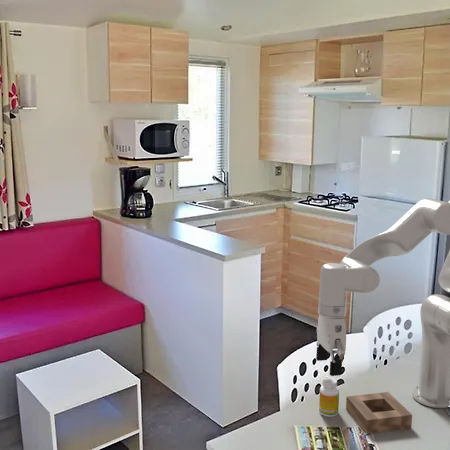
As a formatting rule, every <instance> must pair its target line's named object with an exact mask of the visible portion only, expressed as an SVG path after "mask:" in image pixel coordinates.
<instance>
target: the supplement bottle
mask: <svg viewBox="0 0 450 450" xmlns="http://www.w3.org/2000/svg"><path fill="white" fill-rule="evenodd" d="M339 402H340V389H339V387H338V381H337V379H335V378H334V377H324V378H323V379H322V385H321V386H320V388H319V403H318V405H319V406H318V412H319V414H320V415H322V416H324V417H328V418H329V417H330V418H331V417H335V416H337V415H338V414H339V409H340V408H339V406H340V405H339V404H340V403H339Z"/></svg>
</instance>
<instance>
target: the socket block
mask: <svg viewBox="0 0 450 450" xmlns="http://www.w3.org/2000/svg"><path fill="white" fill-rule="evenodd" d="M345 410H346V411H347V412H348V414H349V415H350V416H351V417H352V418H353V420H354V421H355V422H356V424H357V425H358V426H359V427H360V428H361V429H362V430H363V432H365V435H370V434H378V433H385V432H393V431H403V430H411V429H412V423H413V414H412V413H411V412H410V411H409V410H408V409H407V408H406V407H405V406H404V405H403V404H402V403H401V402H399V400H398V399H397V398H395V397H394V396H393V395H392V394H391V392H389V391H385V392H384V391H383V392H375V393H374V392H373V393H366V394H358V395H356V394H355V395H347V396H346V401H345Z"/></svg>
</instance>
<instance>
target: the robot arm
mask: <svg viewBox="0 0 450 450" xmlns="http://www.w3.org/2000/svg"><path fill="white" fill-rule="evenodd" d="M433 232H435V233H437V234H442V235H445V236H450V200H449V201H448V202H447V201H443V200H440V199H434V198H424V199H420V200H419V201H418V202H417V203H415V204H414V205H413V206H412V207H411V208H410V209H409V210H407V212H406V213H405V214H404V215H402V216H401V217H399V219H398V220H397V221H396V222H395V223H393V224H392V225H391V226H390V227H389V228H388V229H386V230H385V231H384V232H381V233H378V234H376V235H374V236H372V237H370V238H368V239H366V240H363V241H362V242H360V243H359V244H357V245H356V246H355V247H354V248H353V249H352V250H351V251H349V252H348V253H347V254H346V255H345V256H344V257H343V258H342V259H341V260H340V262H339V263H336V262H328V263H324V264H323V265H322V266H321V268H320V272H319V273H320V274H319V290H318V291H319V293H318V304H317V305H318V308H317V313H318V319H317V320H318V321H317V327H316V334H317V335H316V338H315V339H316V340H317V341H316V356H315V360H316V361H318V362H321V361H327V360H328V356H329V355H328V354H330V359H331V361H330V360H329V361H330V362H329V363H330V364H329V376H331V377H335V376H341V375H342V370H343V362H344V359H345V354H346V350H347V324H346V323H347V322H346V321H347V320H346V315H347V304H348V303H347V302H348V293H350V292H352V293H358V294H368V293H373V292H375V290H376V289H378V287H379V285H380V283H381V277H380V274H379V272H377V270H376V269H375V268H374V267H372V266H371V265H373V264H374V263H376V262H378V261H380V260H382V259H385V258H389V257H400V256H403V255H407V254H409V253H411V252H412V251H413V250H414V249H416V247H417V246H418V245H420V244H421V243H422V241H424V240H425V239H426V238H427V237H428V236H430V234H431V233H433ZM438 284H439V286H440V287H441V289H442V290H444V291H446V292H447V293H449V294H450V249H449V251H448V253H447V256H446V257H445V261H444V263H443V265H442V268H441V270H440V272H439V276H438ZM419 310H420V311H419V312H420V322H421V323H420V324H421V346H420V347H421V348H420V360H419V375H418V384H417V386H415V387H414V388H413V389H412V393H411V395H412V397H413V399H415V401H416V402H418V403H420V404H422V405H424V406H427V407H429V408H433V409H447V408H446V407H448V406H449V405H450V403H449V401H450V297H448V296H446V295H444V294H437V293H434V294H431V295H429V296H427V297H425V299H424V300H423V301H422V303H421V306H420V309H419Z"/></svg>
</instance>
